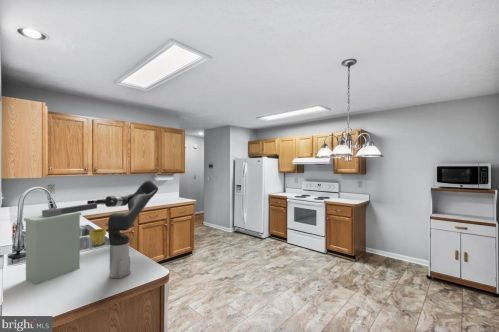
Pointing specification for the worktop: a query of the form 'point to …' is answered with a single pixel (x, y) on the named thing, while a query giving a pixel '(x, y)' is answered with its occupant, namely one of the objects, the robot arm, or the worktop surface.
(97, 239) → the plant pot
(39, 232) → the tall capped green box
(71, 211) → the long gray t-shaped bar
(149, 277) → the worktop surface
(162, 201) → the worktop surface
